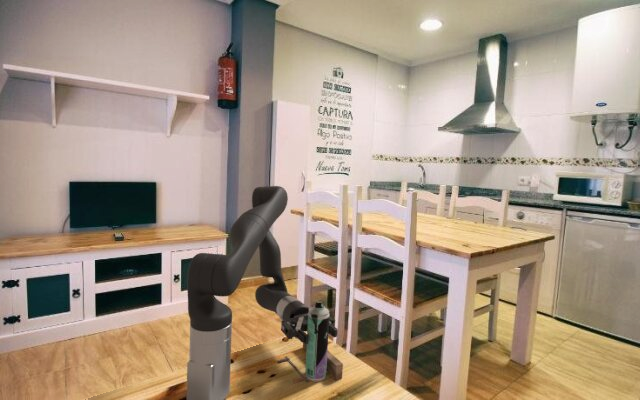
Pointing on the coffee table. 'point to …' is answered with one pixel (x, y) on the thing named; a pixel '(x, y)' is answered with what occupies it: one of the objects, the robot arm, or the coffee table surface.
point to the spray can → (317, 342)
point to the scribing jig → (332, 367)
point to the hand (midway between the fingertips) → (322, 337)
